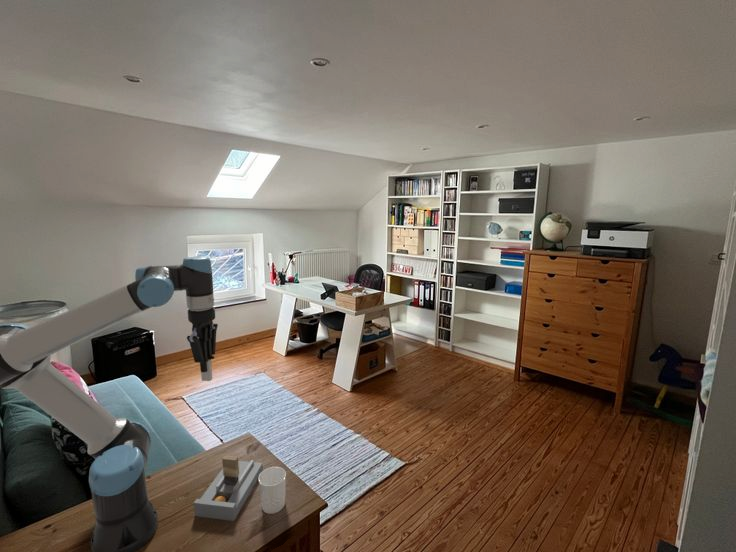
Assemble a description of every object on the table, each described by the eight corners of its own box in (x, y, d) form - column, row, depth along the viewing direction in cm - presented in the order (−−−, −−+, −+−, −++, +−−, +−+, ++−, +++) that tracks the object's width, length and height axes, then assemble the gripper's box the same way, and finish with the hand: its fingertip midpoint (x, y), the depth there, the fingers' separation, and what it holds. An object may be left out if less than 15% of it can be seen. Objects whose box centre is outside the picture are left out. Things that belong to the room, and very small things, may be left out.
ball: (209, 509, 104) (213, 495, 106) (215, 508, 107) (218, 495, 109) (221, 511, 104) (224, 497, 105) (226, 510, 107) (229, 496, 109)
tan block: (226, 478, 114) (224, 455, 113) (239, 480, 114) (238, 456, 112) (223, 483, 112) (221, 459, 111) (236, 485, 112) (235, 461, 110)
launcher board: (229, 467, 124) (228, 455, 123) (262, 470, 122) (262, 459, 122) (194, 516, 104) (193, 502, 104) (234, 520, 103) (233, 507, 102)
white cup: (280, 518, 104) (278, 488, 102) (255, 513, 106) (253, 483, 104) (291, 496, 112) (290, 468, 110) (267, 492, 113) (266, 464, 111)
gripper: (200, 314, 102) (206, 390, 107) (223, 302, 115) (228, 371, 120) (175, 313, 103) (183, 389, 108) (202, 301, 116) (207, 369, 121)
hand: (207, 379), depth 114 cm, fingers closed
